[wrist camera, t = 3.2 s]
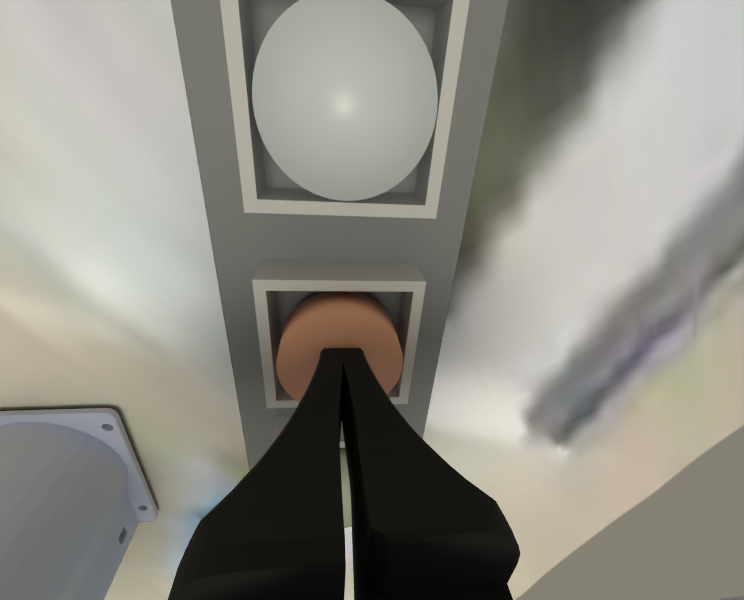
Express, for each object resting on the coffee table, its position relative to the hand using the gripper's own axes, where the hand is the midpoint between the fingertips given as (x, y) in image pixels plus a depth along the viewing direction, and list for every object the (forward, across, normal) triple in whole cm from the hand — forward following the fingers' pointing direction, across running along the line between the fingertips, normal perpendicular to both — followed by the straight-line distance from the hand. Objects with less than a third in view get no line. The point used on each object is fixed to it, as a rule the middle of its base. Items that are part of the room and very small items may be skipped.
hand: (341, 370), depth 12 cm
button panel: (+5, 0, 0) cm, 5 cm away
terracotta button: (+2, 0, 0) cm, 2 cm away
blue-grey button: (+2, 0, -8) cm, 8 cm away
